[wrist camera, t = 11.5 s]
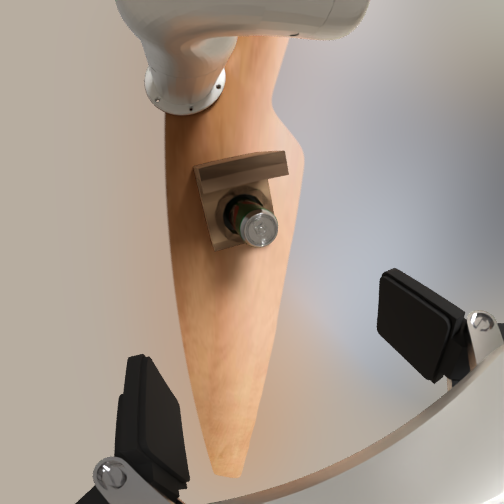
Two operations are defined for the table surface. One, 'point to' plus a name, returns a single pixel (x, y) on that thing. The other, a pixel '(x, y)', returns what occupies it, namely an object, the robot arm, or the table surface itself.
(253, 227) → the soda can
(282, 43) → the table surface
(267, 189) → the socket block
